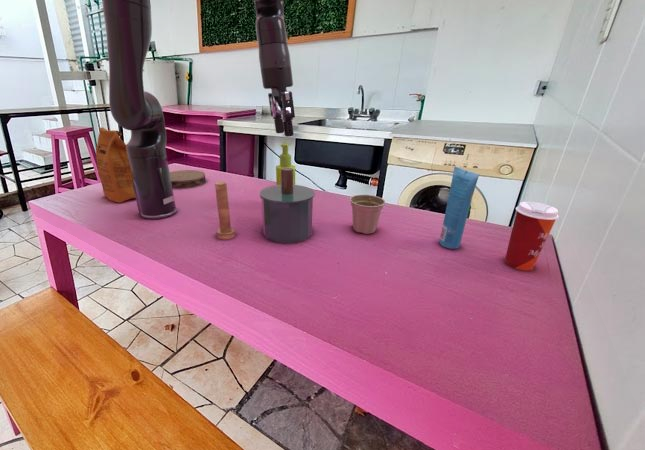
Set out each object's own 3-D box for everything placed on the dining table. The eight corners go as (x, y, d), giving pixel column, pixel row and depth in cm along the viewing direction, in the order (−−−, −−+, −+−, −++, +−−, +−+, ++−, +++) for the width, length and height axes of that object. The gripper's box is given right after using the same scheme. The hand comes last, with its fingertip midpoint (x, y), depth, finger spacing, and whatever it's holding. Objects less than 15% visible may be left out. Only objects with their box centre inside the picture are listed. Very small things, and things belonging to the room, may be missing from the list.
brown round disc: (176, 176, 126) (175, 169, 125) (212, 178, 124) (211, 171, 123) (152, 187, 111) (151, 179, 110) (193, 189, 110) (192, 181, 109)
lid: (248, 200, 73) (246, 171, 70) (277, 185, 84) (277, 160, 81) (299, 209, 68) (299, 179, 65) (323, 193, 79) (324, 166, 77)
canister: (253, 236, 77) (251, 197, 73) (279, 219, 88) (278, 184, 83) (298, 247, 72) (298, 206, 68) (319, 227, 83) (320, 191, 79)
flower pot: (388, 229, 83) (392, 200, 80) (368, 240, 77) (372, 209, 74) (361, 220, 89) (363, 192, 86) (340, 229, 83) (342, 199, 79)
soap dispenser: (297, 203, 101) (297, 142, 93) (293, 210, 95) (293, 145, 86) (280, 201, 101) (278, 141, 93) (275, 209, 95) (273, 144, 87)
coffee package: (132, 189, 108) (116, 125, 99) (148, 197, 101) (133, 129, 92) (100, 196, 101) (80, 127, 92) (115, 205, 94) (95, 132, 85)
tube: (467, 249, 74) (487, 173, 66) (453, 253, 72) (472, 175, 64) (444, 237, 80) (460, 165, 72) (431, 240, 78) (445, 167, 71)
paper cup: (539, 277, 64) (562, 216, 58) (498, 266, 67) (516, 208, 62) (538, 261, 70) (559, 205, 64) (500, 252, 74) (517, 198, 68)
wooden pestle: (213, 237, 76) (206, 183, 70) (225, 230, 80) (219, 179, 74) (227, 240, 74) (221, 186, 69) (238, 234, 78) (234, 181, 72)
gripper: (254, 70, 79) (264, 134, 85) (267, 64, 67) (278, 139, 73) (282, 68, 81) (289, 130, 88) (299, 62, 69) (306, 135, 76)
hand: (284, 134), depth 81 cm, fingers open, 8 cm apart
